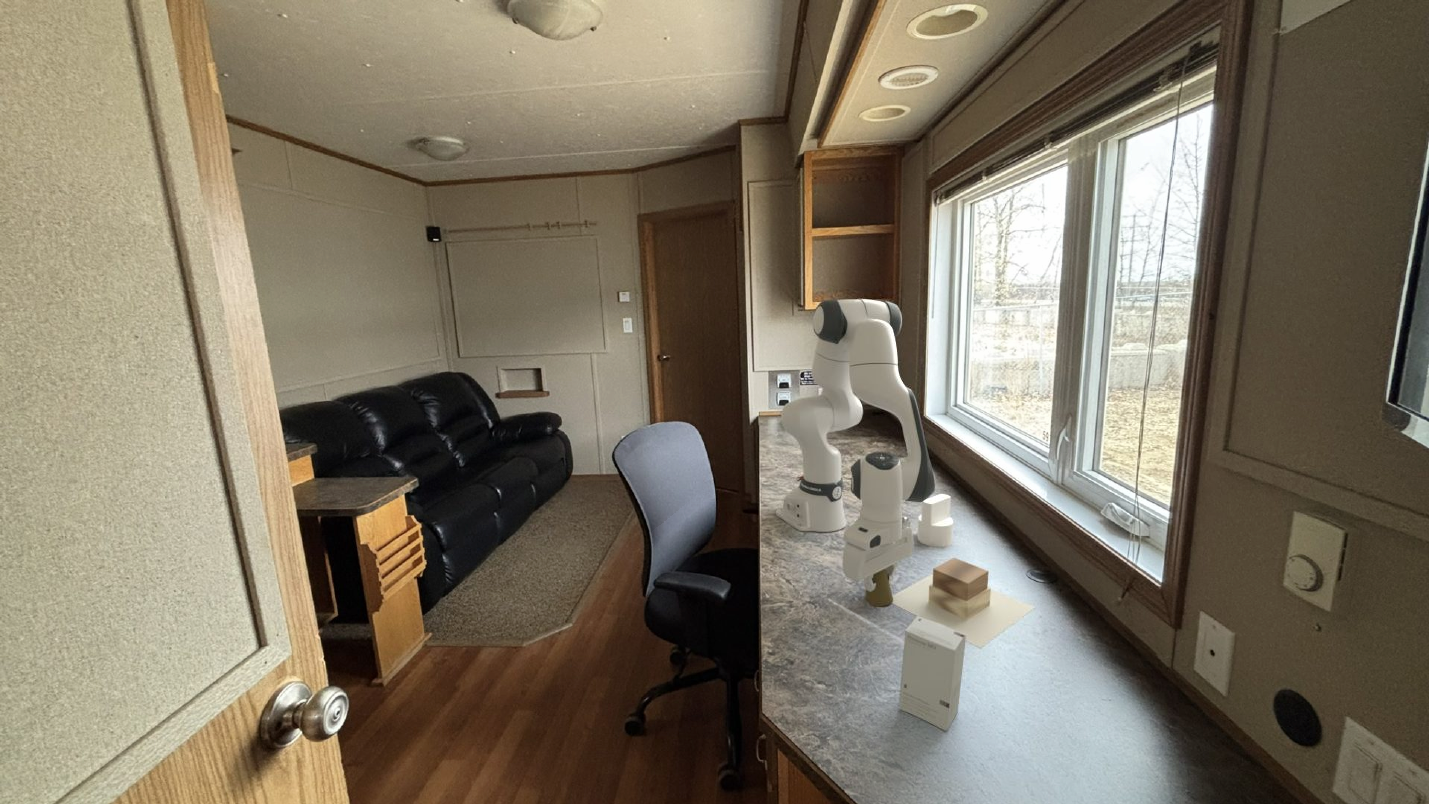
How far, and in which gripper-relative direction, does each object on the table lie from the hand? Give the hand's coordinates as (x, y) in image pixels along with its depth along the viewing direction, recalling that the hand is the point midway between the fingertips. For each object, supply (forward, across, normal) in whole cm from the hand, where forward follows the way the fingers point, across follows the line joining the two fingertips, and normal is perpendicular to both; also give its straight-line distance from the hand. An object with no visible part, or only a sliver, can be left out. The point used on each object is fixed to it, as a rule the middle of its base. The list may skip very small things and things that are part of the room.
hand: (879, 585), depth 124 cm
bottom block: (+4, -12, +12) cm, 17 cm away
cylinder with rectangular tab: (+4, -37, -10) cm, 39 cm away
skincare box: (+4, +20, +26) cm, 33 cm away
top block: (0, -12, +12) cm, 17 cm away
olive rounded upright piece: (+4, 0, 0) cm, 4 cm away
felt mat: (+4, -12, +12) cm, 17 cm away
